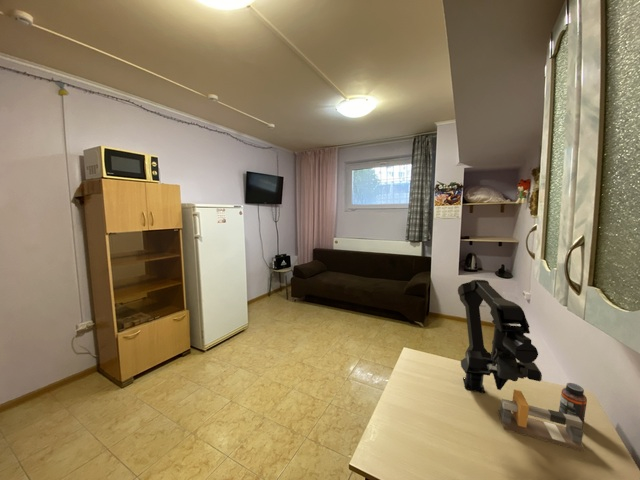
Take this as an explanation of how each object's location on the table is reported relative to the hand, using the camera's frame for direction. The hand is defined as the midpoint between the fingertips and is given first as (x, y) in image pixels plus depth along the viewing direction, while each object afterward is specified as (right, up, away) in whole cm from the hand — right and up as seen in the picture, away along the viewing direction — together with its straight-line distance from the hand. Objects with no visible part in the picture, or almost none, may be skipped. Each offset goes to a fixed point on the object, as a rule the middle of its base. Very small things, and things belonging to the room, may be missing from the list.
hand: (498, 388), depth 83 cm
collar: (+5, -8, -1) cm, 10 cm away
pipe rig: (+10, -11, -3) cm, 15 cm away
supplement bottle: (+25, -11, +2) cm, 27 cm away
